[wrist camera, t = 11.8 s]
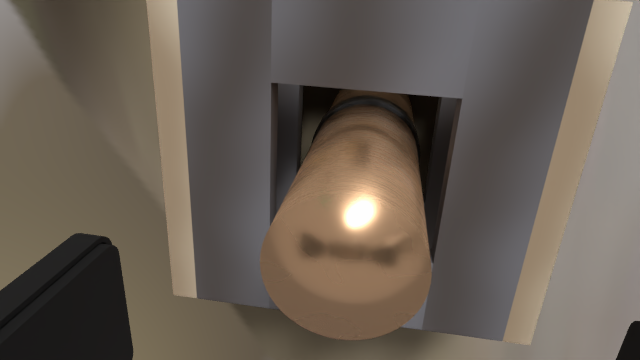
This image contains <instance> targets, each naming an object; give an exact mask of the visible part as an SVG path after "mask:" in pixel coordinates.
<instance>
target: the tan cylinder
mask: <svg viewBox="0 0 640 360" xmlns="http://www.w3.org/2000/svg"><path fill="white" fill-rule="evenodd" d="M419 157H420V149H419V141H418V135H417V131H416V128H415V126H414V121H413V113H412V106H411V102H410V99H409V97H408V95H407V94H401V93H389V92H377V91H365V90H353V89H341V90H340V91H339V93H338V94H337V96H336V98H335V100H334V102H333V104H332V106H331V108H330V110H329V111H328V112H327V113H326V115H325V116H324V117H323V119H322V121H321V122H320V124H319V126H318V128H317V130H316V132H315V134H314V137H313V141H312V145H311V147H310V149H309V151H308V153H307V155H306V157H305V159H304V161H303V163H302V165H301V167H300V169H299V171H298V173H297V175H296V177H295V179H294V181H293V183H292V185H291V186H290V188H289V190H288V192H287V194H286V196H285V198H284V200H283V202H282V204H281V206H280V208H279V210H278V212H277V214H276V216H275V218H274V220H273V222H272V224H271V226H270V228H269V230H268V232H267V234H266V236H265V238H264V241H263V244H262V248H261V252H260V271H261V275H262V280H263V282H264V285H265V288H266V290H267V292H268V294H269V296H270V297H271V299H272V300H273V302H274V303H275V304H276V306H277V307H278V308H279V309H280V310H281V311H282V312H283V313H284V314H285V315H286V316H287V317H288V318H290V319H291V320H292V321H294V322H295V323H297V324H298V325H300V326H301V327H303V328H305V329H307V330H309V331H311V332H314V333H316V334H319V335H322V336H325V337H329V338H334V339H341V340H364V339H371V338H375V337H379V336H382V335H385V334H388V333H390V332H392V331H394V330H396V329H398V328H400V327H401V326H403V325H404V324H406V323H407V322H408V321H409V320H410V319H411V318H413V317H414V315H415V314H416V313H417V312H418V311H419V310H420V308H421V307H422V305H423V303H424V302H425V300H426V297H427V295H428V293H429V289H430V285H431V277H432V269H431V259H430V251H429V243H428V235H427V226H426V218H425V210H424V202H423V194H422V186H421V178H420V170H419Z"/></svg>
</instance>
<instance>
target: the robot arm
mask: <svg viewBox="0 0 640 360" xmlns="http://www.w3.org/2000/svg"><path fill="white" fill-rule="evenodd" d="M132 358H133V346H132V339H131V332H130V325H129V318H128V312H127V304H126V298H125V291H124V284H123V277H122V270H121V263H120V256H119V251H118V249H117V247H115V246H114V245H112V243H111V241H110V239H109V238H107V237H104V236H97V235H90V234H83V233H78V234H74V235H72V236H71V237H70V238H68V239H67V240H66V241H64V242H63V243H62V244H60V245H59V246H58V247H57V248H55V249H54V250H53V251H51V252H50V253H49V254H48V255H46V256H45V257H44V258H43V259H41V260H40V261H39V262H37V263H36V264H35V265H33V266H32V267H31V268H30V269H28V270H27V271H25V272H24V273H23V274H21V275H20V276H19V277H18V278H16V279H15V280H14V281H12V282H11V283H10V284H8V285H7V286H6V287H5V288H3V289H2V290H1V291H0V360H132ZM616 360H640V321H634V322H633V323H631V325H630V327H629V329H628V331H627V334H626V336H625V339H624V341H623V344H622V346H621V348H620V351H619V353H618V356H617V358H616Z"/></svg>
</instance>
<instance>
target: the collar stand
mask: <svg viewBox="0 0 640 360" xmlns="http://www.w3.org/2000/svg"><path fill="white" fill-rule="evenodd" d="M146 2H147V13H148V23H149V34H150V45H151V56H152V67H153V78H154V89H155V100H156V111H157V121H158V132H159V143H160V154H161V165H162V176H163V187H164V198H165V209H166V219H167V230H168V241H169V252H170V263H171V274H172V285H173V294H174V295H178V296H186V297H193V298H199V299H206V300H213V301H221V302H228V303H235V304H242V305H249V306H256V307H263V308H270V309H277V310H280V309H279V308H278V307H277V306H276V304H275V303H274V302H273V300H272V299H271V297H270V296H269V294H268V292H267V290H266V288H265V285H264V282H263V280H262V275H261V271H260V252H261V248H262V244H263V241H264V238H265V236H266V234H267V232H268V230H269V228H270V226H271V224H272V222H273V220H274V218H275V216H276V214H277V212H278V210H279V208H280V206H281V204H282V202H283V200H284V198H285V196H286V194H287V192H288V190H289V188H290V186H291V185H292V183H293V181H294V179H295V177H296V175H297V173H298V171H299V169H300V161H301V134H302V107H303V85H305V86H317V87H329V88H341V89H353V90H365V91H377V92H389V93H401V94H413V95H425V96H437V97H439V101H438V108H437V114H436V120H435V127H434V133H433V140H432V146H431V153H430V159H429V165H428V172H427V178H426V185H425V191H424V194H423V202H424V210H425V218H426V226H427V235H428V243H429V251H430V259H431V269H432V277H431V285H430V289H429V293H428V295H427V297H426V300H425V302H424V303H423V305H422V307H421V308H420V310H419V311H418V312H417V313H416V314H415V315H414V317H413V318H411V319H410V320H409V321H408V322H407V323H406V324H404V325H403V326H401V327H405V328H412V329H419V330H426V331H433V332H440V333H447V334H455V335H462V336H469V337H476V338H483V339H490V340H497V341H504V342H511V343H518V344H525V345H530V344H531V341H532V337H533V334H534V331H535V327H536V324H537V321H538V317H539V314H540V311H541V307H542V304H543V301H544V297H545V294H546V291H547V287H548V284H549V281H550V277H551V274H552V271H553V267H554V264H555V261H556V257H557V254H558V251H559V247H560V244H561V241H562V237H563V234H564V231H565V227H566V224H567V221H568V217H569V214H570V211H571V207H572V204H573V201H574V197H575V194H576V191H577V187H578V184H579V181H580V177H581V174H582V171H583V167H584V164H585V161H586V157H587V154H588V151H589V147H590V144H591V141H592V137H593V134H594V131H595V127H596V124H597V121H598V117H599V114H600V111H601V107H602V104H603V101H604V97H605V94H606V91H607V87H608V84H609V81H610V77H611V74H612V71H613V67H614V64H615V61H616V57H617V54H618V51H619V47H620V44H621V41H622V37H623V34H624V31H625V27H626V24H627V21H628V17H629V14H630V11H631V7H632V4H633V2H628V1H617V0H146Z"/></svg>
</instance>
